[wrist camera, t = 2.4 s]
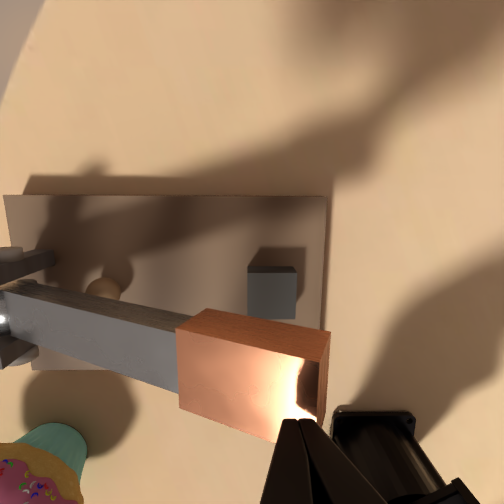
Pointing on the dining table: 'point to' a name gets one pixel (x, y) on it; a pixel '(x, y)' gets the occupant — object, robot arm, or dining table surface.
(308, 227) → the base
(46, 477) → the cupcake
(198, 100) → the dining table surface
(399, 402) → the dining table surface
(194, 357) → the lever
